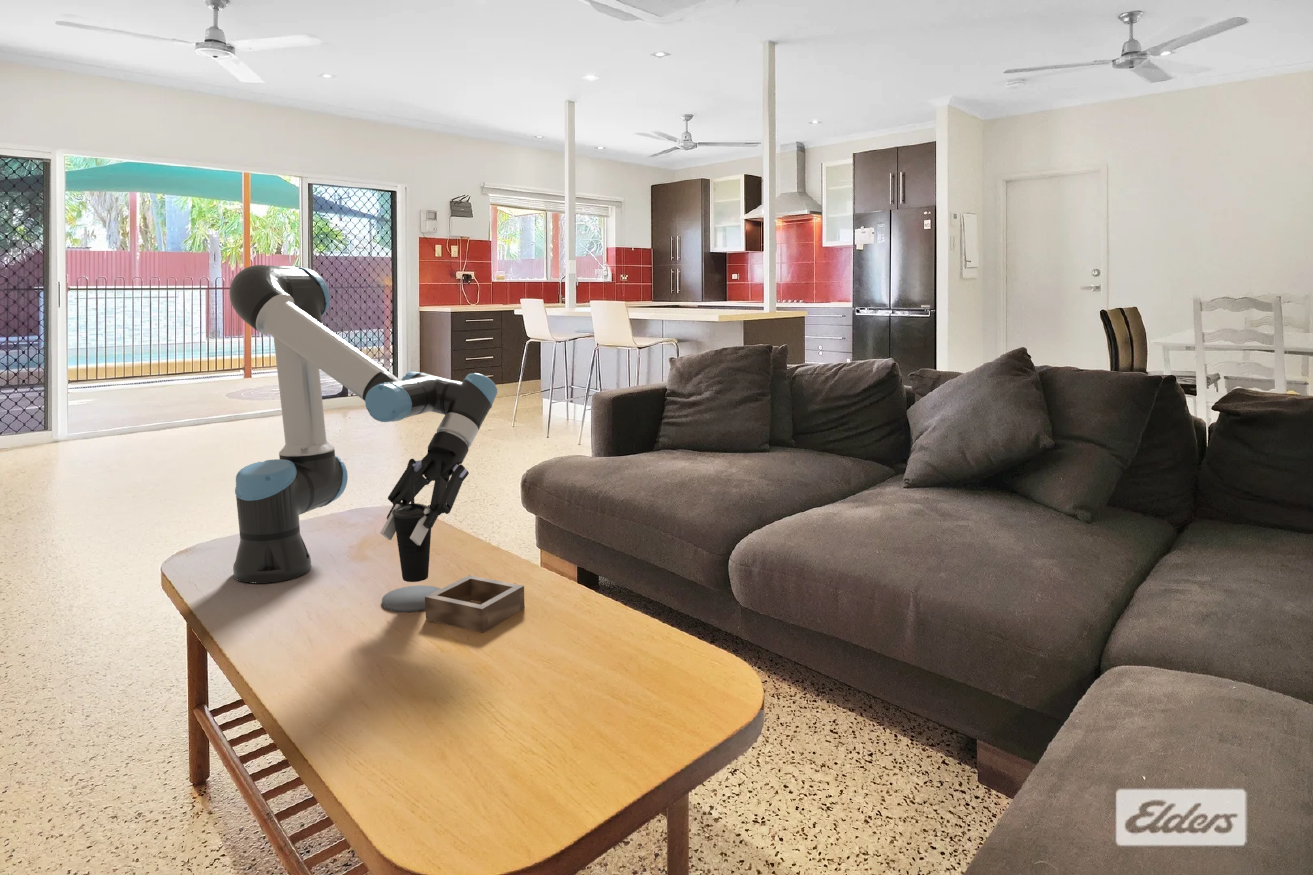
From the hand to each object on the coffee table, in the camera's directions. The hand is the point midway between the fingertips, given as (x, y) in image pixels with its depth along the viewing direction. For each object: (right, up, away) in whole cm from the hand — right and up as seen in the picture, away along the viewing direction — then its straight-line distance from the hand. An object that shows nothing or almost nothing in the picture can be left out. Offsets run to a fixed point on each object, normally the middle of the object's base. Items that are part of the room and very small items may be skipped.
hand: (400, 538), depth 157 cm
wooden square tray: (+15, -14, -1) cm, 20 cm away
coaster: (+1, -13, +6) cm, 14 cm away
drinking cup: (+1, -8, +5) cm, 10 cm away
